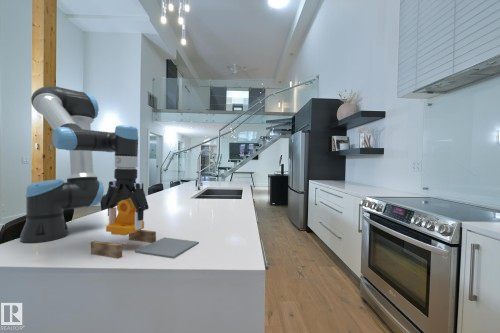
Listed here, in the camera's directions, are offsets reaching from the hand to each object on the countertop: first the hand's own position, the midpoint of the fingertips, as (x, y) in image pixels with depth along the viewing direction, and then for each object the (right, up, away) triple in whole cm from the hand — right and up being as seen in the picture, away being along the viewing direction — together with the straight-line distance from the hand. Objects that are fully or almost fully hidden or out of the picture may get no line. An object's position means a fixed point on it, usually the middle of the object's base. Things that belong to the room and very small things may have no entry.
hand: (125, 227), depth 90 cm
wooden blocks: (0, -7, 0) cm, 7 cm away
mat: (+16, -8, 0) cm, 18 cm away
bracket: (0, -2, 0) cm, 2 cm away
